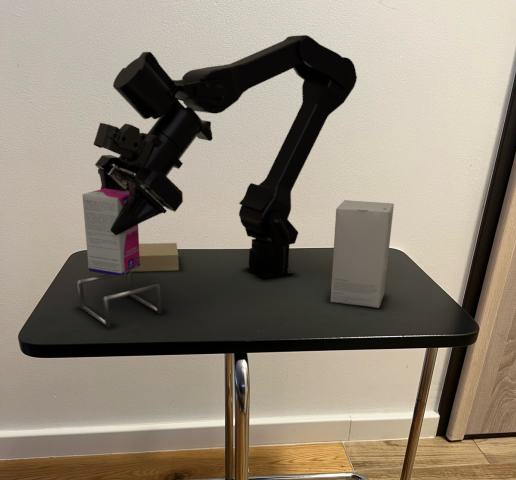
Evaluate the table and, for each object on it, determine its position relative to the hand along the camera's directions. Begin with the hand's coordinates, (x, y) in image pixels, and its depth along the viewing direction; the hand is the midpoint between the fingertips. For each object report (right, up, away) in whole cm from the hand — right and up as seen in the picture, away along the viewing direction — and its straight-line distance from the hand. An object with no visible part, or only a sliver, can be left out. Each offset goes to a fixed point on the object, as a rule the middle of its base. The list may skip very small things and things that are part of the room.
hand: (102, 226), depth 79 cm
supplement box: (+1, -6, +4) cm, 7 cm away
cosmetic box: (+39, -10, +11) cm, 42 cm away
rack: (+2, -12, +4) cm, 13 cm away
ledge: (+1, -2, +24) cm, 24 cm away
